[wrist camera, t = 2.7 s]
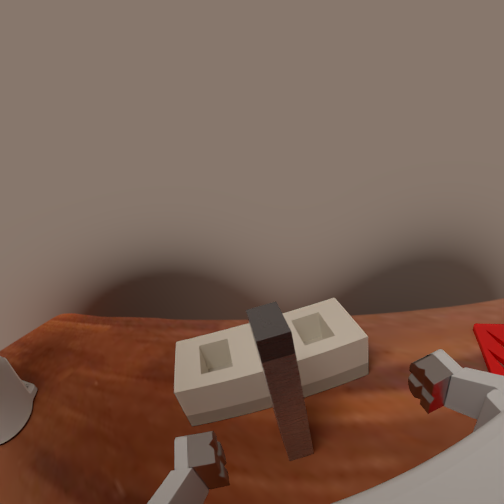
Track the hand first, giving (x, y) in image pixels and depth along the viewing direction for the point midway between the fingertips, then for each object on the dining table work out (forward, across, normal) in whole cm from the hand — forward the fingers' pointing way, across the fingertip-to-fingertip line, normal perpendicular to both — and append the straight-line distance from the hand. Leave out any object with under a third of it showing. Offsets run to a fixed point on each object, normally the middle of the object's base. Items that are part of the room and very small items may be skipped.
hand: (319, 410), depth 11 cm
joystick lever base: (+23, 0, +19) cm, 30 cm away
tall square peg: (+12, 0, +19) cm, 23 cm away
